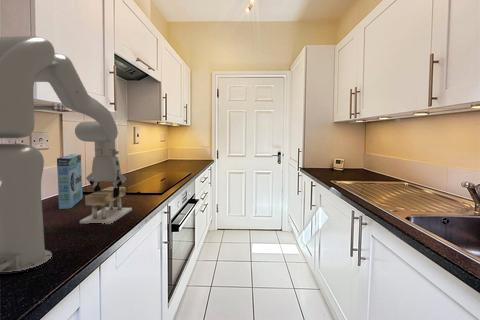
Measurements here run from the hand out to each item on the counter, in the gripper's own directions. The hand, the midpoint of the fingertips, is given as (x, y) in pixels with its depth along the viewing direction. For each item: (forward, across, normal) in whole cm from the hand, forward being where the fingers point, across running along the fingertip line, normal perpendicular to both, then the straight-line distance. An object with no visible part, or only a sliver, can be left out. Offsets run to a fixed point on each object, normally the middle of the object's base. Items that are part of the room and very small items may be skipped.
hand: (107, 196), depth 116 cm
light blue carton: (+8, +27, -18) cm, 34 cm away
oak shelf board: (+1, 0, 0) cm, 1 cm away
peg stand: (+8, 0, 0) cm, 8 cm away
